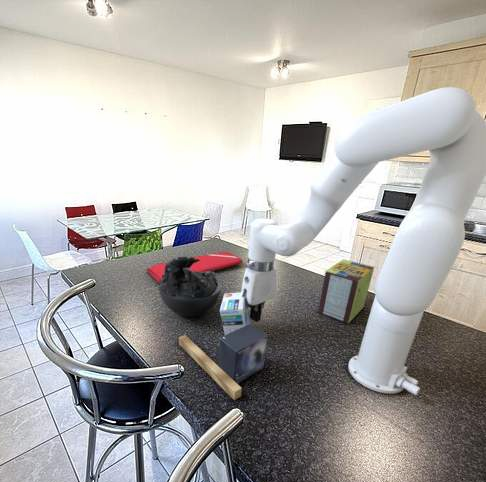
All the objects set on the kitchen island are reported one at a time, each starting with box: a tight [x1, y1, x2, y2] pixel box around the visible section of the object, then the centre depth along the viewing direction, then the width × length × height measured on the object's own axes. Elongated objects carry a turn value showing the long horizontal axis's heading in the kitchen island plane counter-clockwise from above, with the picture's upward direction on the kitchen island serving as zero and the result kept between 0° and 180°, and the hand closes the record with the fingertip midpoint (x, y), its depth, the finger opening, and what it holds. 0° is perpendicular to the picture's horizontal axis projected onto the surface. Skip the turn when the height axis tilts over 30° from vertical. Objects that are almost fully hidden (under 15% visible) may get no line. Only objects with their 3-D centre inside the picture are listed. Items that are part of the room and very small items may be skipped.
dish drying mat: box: [146, 251, 244, 284], centre depth 131 cm, size 16×41×4 cm, turn 121°
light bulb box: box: [219, 291, 252, 335], centre depth 85 cm, size 11×7×11 cm, turn 171°
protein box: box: [317, 258, 375, 325], centre depth 98 cm, size 10×15×16 cm
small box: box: [217, 323, 269, 385], centre depth 71 cm, size 11×6×10 cm, turn 128°
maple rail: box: [178, 334, 243, 401], centre depth 73 cm, size 24×2×2 cm, turn 36°
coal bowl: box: [158, 255, 222, 317], centre depth 94 cm, size 20×20×19 cm
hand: (255, 319), depth 89 cm, fingers closed
